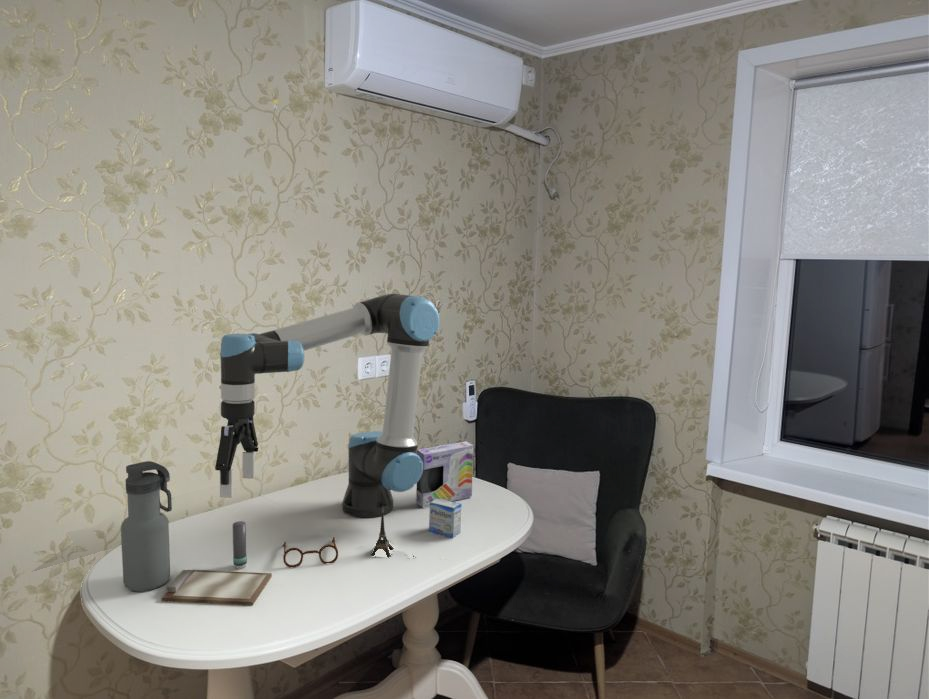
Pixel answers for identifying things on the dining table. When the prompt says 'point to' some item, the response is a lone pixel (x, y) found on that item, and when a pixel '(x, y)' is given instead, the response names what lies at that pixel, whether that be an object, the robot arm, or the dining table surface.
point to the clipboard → (216, 587)
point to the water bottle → (146, 528)
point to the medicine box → (445, 518)
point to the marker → (239, 544)
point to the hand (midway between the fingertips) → (237, 487)
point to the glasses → (310, 552)
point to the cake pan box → (445, 473)
